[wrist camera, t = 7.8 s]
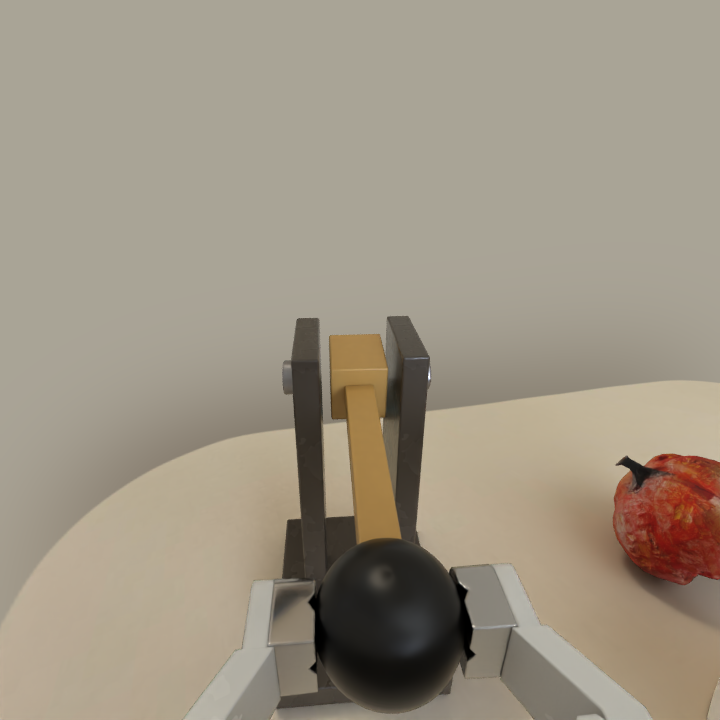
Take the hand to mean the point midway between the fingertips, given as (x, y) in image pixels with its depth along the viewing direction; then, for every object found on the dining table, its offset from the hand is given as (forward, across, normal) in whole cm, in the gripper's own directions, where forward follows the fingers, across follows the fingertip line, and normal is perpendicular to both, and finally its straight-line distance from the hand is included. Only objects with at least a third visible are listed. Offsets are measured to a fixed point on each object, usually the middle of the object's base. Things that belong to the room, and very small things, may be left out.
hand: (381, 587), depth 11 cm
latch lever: (+4, 0, +1) cm, 4 cm away
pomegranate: (+10, -19, +13) cm, 25 cm away
